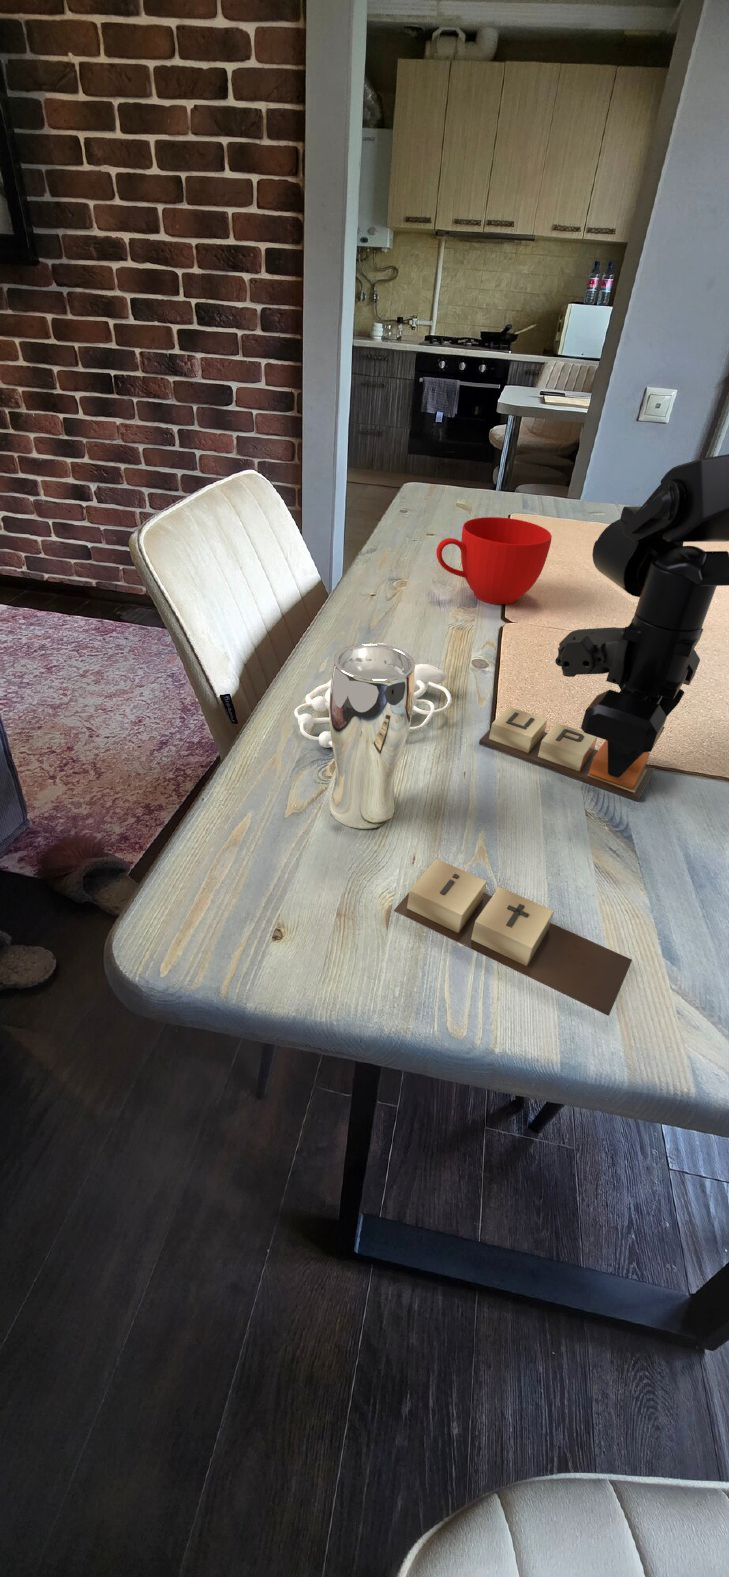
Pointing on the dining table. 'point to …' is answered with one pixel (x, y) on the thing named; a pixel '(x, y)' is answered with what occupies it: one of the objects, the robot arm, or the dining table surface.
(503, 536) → the ceramic cup
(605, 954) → the front word
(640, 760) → the s tile
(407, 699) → the beer glass
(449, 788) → the dining table surface
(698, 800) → the dining table surface
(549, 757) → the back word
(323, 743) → the tangled rod sculpture
